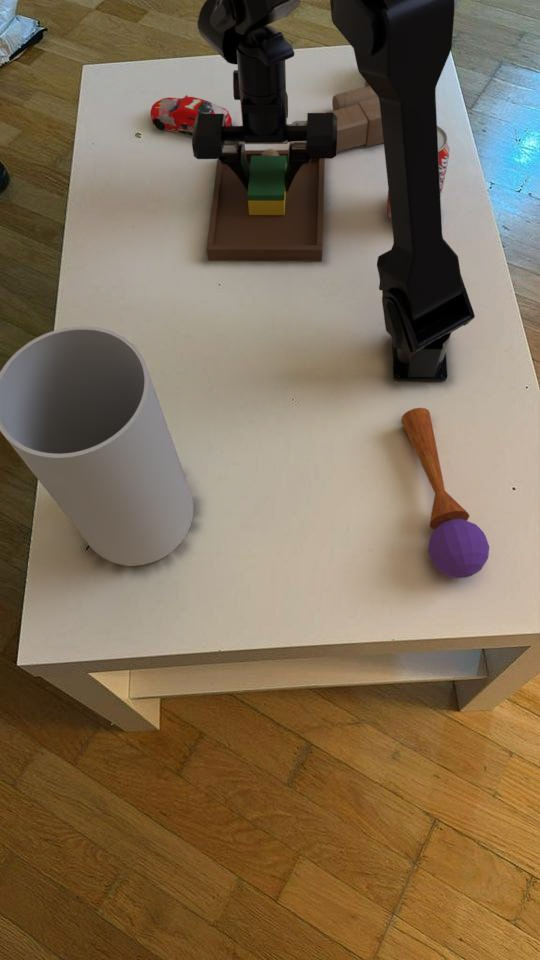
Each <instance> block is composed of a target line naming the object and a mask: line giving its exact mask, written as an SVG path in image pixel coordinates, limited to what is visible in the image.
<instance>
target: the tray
mask: <svg viewBox="0 0 540 960" xmlns="http://www.w3.org/2000/svg"><path fill="white" fill-rule="evenodd" d="M266 150H267V149H249V150H248V149H245V152H246V157H247V162H248V167H249V172H250V162H251V156H261V155H262V153H263V152H264V151H266ZM274 150H275V151H277V152H278V154H279V155H280V156H286V164H287V157H288V149H274ZM216 160H217V161H216V168H215V169H216V170H215V176H214V184H213V193H212V200H211V209H210V215H209V224H208V232H207V241H206V247H205V250H206V256H207V261H232V262H233V261H241V262H242V261H245V262H246V261H247V262H248V261H249V262H252V261H253V262H257V261H258V262H259V261H260V262H323V251H324V250H323V248H324V247H323V246H324V245H323V244H324V206H325V167H326V166H325V163H326V161H325V160H326V159H312V158H311V161H310V163H307V164H303V165H302V166H301V168H300V169H299V171H298V172H297V173H296V175H295V177H294V179H293V181H292V183H291V186H290V188H289V190H288V192H286V199H285V215H249V207H248V195H247V194H248V191H247V190H246V188H245V187H244V185H243V184H242V182H241V181H240V179H239V178H238V176H237V175H236V174H235V173H234V172H233V171H232V170H231V168H230V167H229V166H228V165H227V164H221V163H220V162H219V158H218V159H216Z"/></svg>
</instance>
